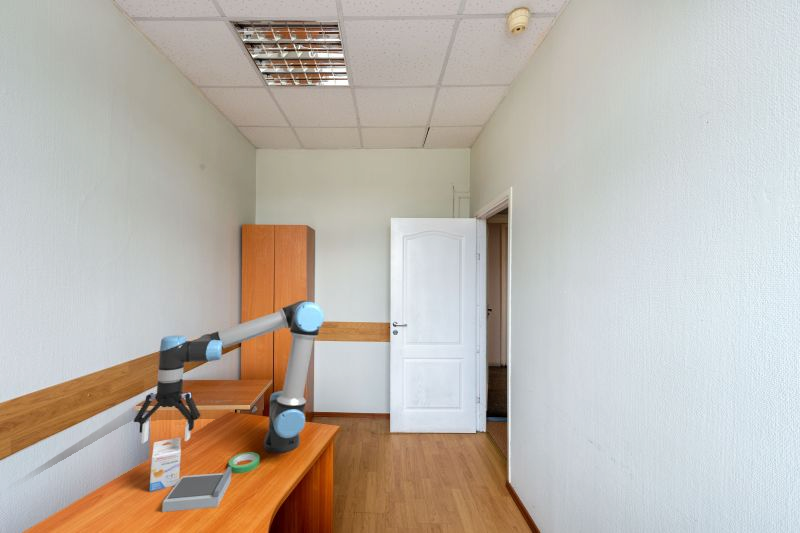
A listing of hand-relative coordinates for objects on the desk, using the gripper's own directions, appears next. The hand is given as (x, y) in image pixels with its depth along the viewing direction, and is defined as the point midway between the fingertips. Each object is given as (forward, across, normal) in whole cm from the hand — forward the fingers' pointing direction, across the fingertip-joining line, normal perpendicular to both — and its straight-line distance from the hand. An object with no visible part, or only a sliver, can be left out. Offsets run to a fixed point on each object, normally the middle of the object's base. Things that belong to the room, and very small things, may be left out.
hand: (166, 440), depth 118 cm
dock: (+15, -14, +8) cm, 22 cm away
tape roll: (+16, -24, -9) cm, 30 cm away
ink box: (+16, 0, 0) cm, 16 cm away
